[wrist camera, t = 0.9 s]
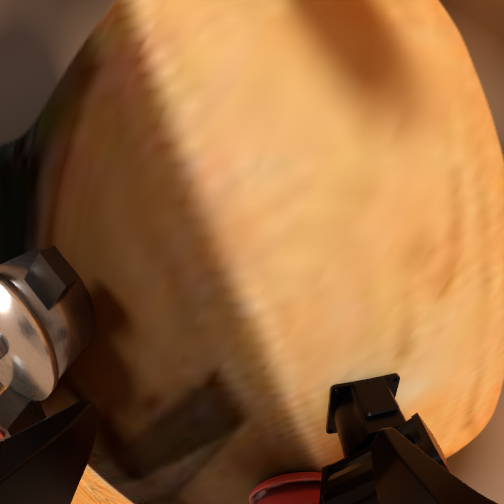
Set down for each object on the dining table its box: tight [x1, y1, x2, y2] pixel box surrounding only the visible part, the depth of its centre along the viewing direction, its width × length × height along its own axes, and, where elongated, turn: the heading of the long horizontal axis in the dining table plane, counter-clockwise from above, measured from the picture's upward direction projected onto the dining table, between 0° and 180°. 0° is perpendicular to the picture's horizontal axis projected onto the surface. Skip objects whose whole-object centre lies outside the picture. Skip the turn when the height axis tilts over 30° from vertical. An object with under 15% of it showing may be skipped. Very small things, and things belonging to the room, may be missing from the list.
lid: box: [0, 274, 59, 441], centre depth 13 cm, size 23×10×5 cm, turn 175°
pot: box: [0, 245, 95, 395], centre depth 19 cm, size 23×10×6 cm, turn 131°
